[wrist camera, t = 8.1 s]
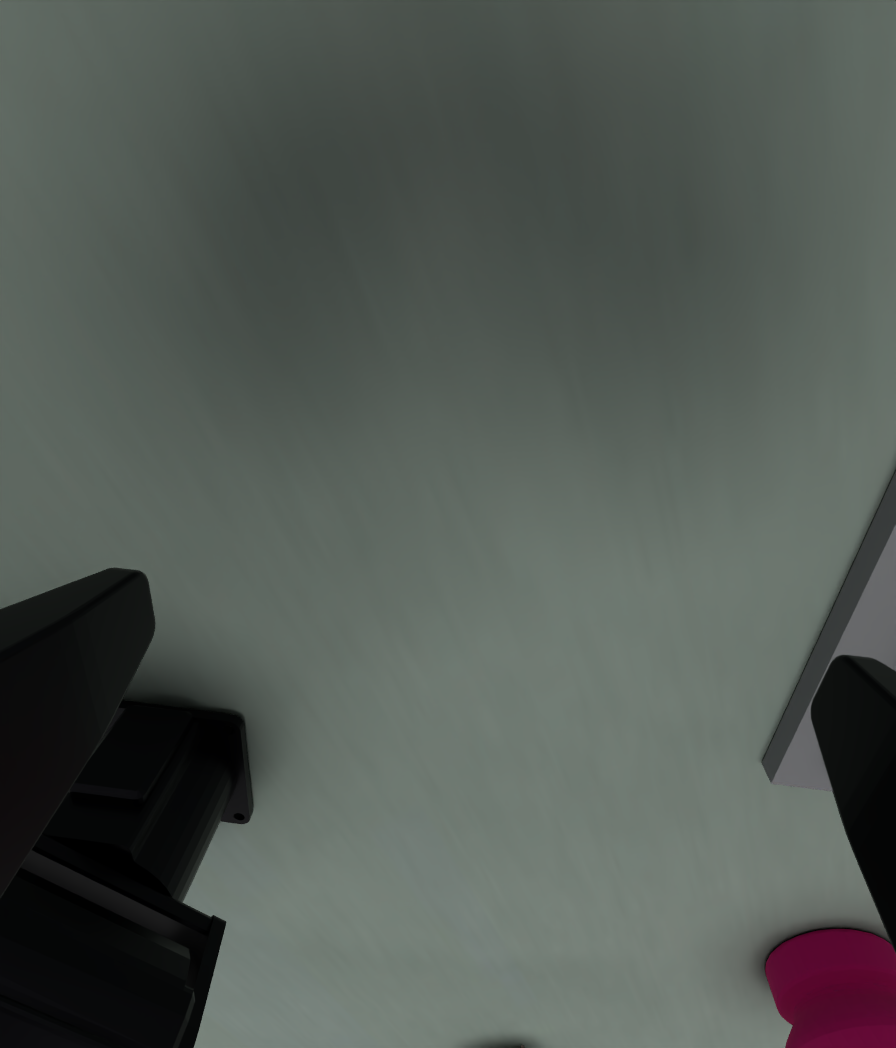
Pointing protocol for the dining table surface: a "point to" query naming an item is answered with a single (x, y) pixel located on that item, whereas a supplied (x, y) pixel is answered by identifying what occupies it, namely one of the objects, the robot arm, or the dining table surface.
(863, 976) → the pepper mill
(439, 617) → the dining table surface
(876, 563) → the display stand
